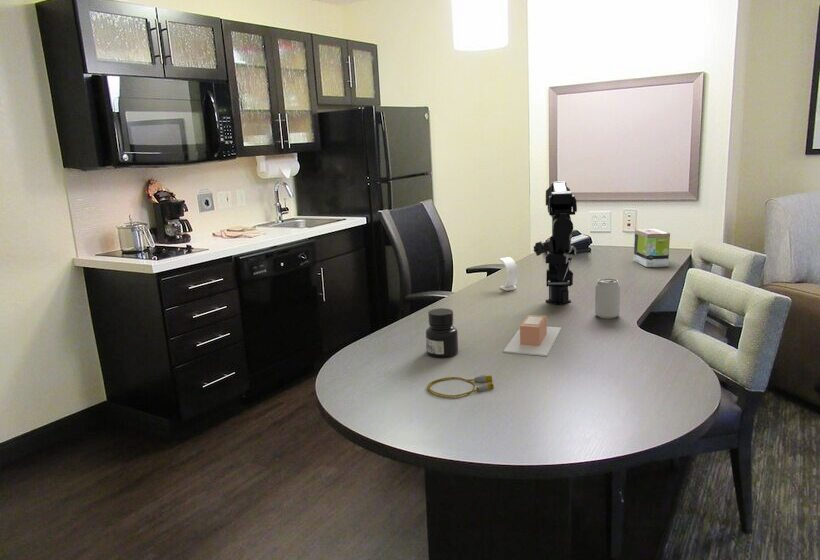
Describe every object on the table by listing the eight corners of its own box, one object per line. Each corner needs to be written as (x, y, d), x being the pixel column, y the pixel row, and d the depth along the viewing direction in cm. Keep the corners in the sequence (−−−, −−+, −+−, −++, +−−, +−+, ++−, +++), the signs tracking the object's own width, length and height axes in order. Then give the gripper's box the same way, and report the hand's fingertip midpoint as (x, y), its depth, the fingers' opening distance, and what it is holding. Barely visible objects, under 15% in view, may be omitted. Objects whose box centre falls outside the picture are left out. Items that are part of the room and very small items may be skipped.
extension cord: (489, 403, 130) (489, 395, 129) (422, 398, 134) (421, 390, 134) (497, 381, 141) (497, 374, 140) (435, 377, 146) (434, 370, 145)
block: (528, 314, 171) (519, 325, 162) (546, 315, 169) (539, 326, 159) (528, 332, 173) (520, 344, 163) (546, 333, 170) (539, 346, 161)
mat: (522, 325, 180) (522, 324, 180) (561, 328, 175) (561, 327, 175) (503, 352, 159) (503, 350, 159) (547, 356, 154) (547, 354, 154)
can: (621, 319, 181) (622, 282, 178) (596, 319, 182) (597, 282, 180) (617, 312, 188) (618, 276, 185) (593, 312, 190) (594, 277, 187)
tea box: (669, 266, 247) (670, 232, 244) (645, 267, 247) (647, 233, 244) (655, 259, 262) (656, 227, 258) (632, 261, 262) (634, 228, 259)
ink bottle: (421, 350, 164) (418, 310, 161) (448, 344, 167) (446, 305, 164) (435, 361, 155) (433, 318, 152) (464, 355, 158) (463, 313, 156)
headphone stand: (509, 286, 229) (508, 256, 226) (518, 289, 224) (518, 259, 221) (499, 288, 227) (499, 258, 225) (508, 291, 222) (508, 260, 219)
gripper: (542, 228, 192) (542, 274, 195) (528, 236, 176) (529, 286, 179) (576, 228, 187) (576, 275, 190) (565, 236, 171) (565, 287, 174)
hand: (561, 281), depth 183 cm, fingers closed
